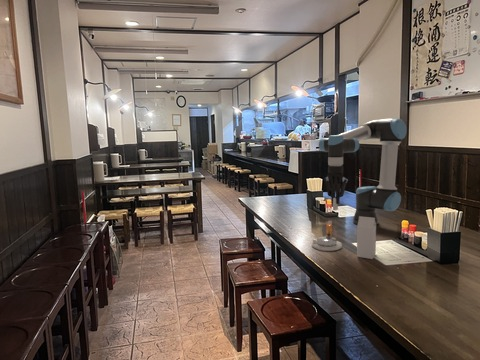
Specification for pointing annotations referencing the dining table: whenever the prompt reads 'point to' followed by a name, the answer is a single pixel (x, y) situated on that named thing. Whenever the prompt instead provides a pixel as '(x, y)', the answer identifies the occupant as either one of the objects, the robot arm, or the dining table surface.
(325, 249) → the plate
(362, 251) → the milk carton
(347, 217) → the dining table surface
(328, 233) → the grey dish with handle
